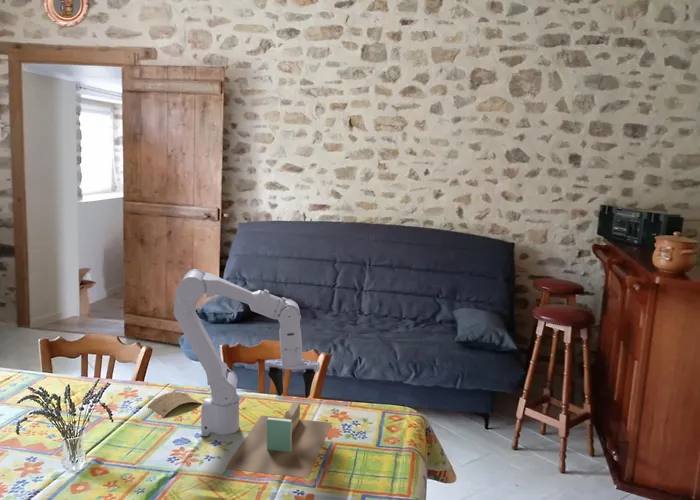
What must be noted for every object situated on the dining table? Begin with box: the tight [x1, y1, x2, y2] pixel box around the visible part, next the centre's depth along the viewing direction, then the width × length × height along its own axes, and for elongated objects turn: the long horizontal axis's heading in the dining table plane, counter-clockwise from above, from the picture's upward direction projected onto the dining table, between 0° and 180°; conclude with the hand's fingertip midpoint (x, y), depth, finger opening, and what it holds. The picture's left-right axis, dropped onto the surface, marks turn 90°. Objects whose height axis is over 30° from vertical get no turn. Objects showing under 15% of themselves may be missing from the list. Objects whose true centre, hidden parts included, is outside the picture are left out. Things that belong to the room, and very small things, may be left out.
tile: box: [267, 417, 292, 452], centre depth 151 cm, size 6×1×8 cm, turn 81°
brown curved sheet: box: [147, 391, 201, 418], centre depth 177 cm, size 14×10×3 cm
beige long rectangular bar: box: [282, 401, 301, 433], centre depth 162 cm, size 2×11×5 cm, turn 171°
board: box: [224, 415, 332, 479], centre depth 154 cm, size 20×28×1 cm
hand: (294, 394), depth 163 cm, fingers open, 7 cm apart
